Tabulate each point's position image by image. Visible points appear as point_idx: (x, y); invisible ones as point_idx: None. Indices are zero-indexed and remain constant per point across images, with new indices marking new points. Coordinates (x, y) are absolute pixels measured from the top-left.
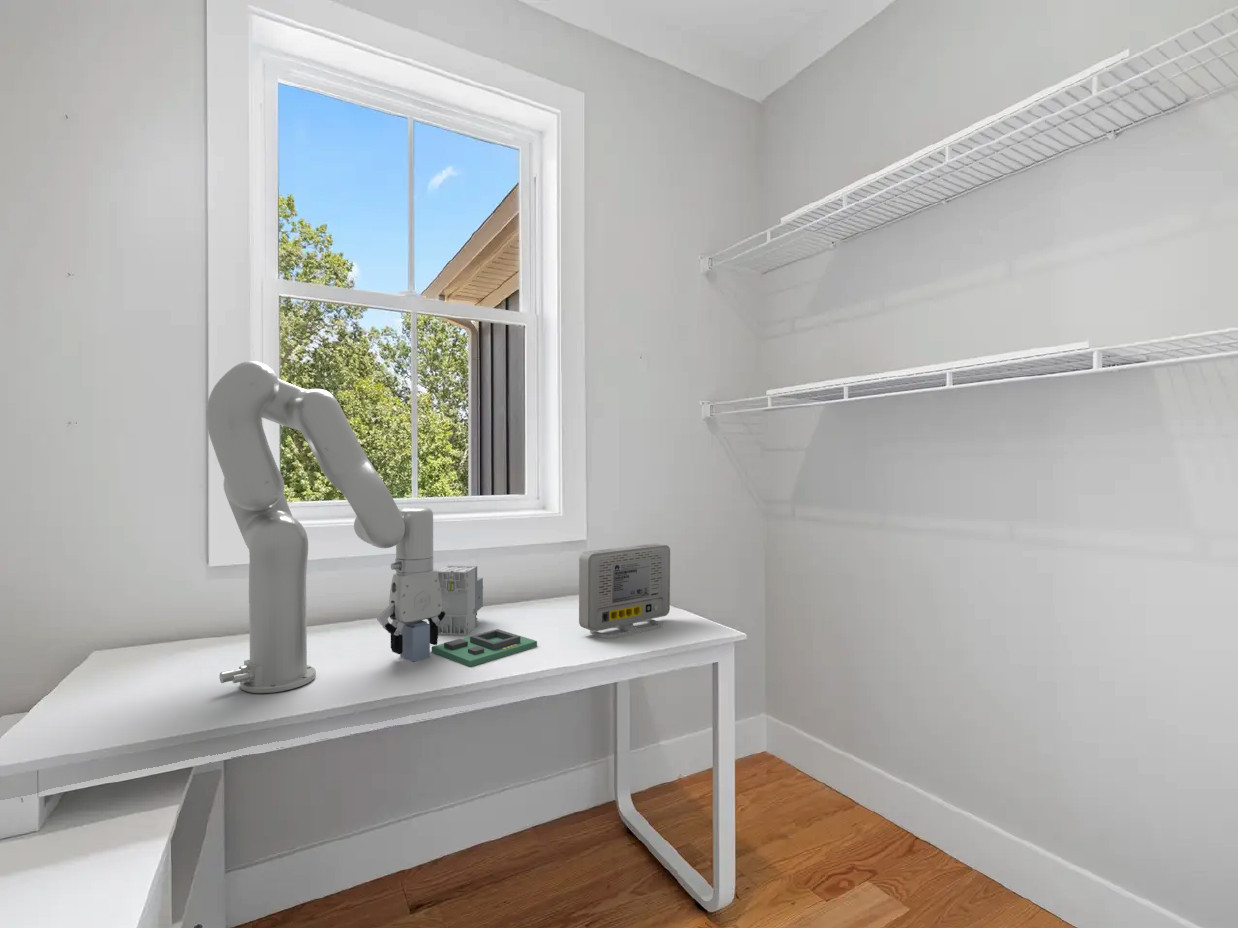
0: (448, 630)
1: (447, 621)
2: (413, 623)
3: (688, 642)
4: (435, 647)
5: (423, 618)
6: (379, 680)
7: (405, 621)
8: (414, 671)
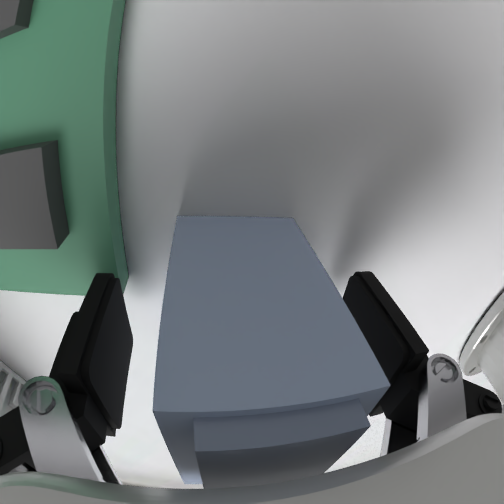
0: (15, 388)
1: None
2: (338, 449)
3: None
4: (111, 266)
5: (291, 499)
6: (494, 140)
7: (501, 419)
8: (390, 81)
